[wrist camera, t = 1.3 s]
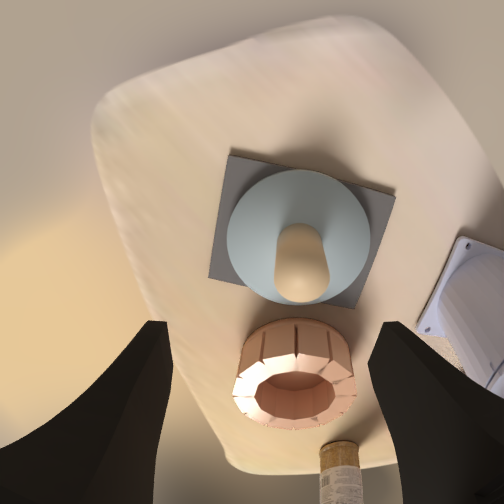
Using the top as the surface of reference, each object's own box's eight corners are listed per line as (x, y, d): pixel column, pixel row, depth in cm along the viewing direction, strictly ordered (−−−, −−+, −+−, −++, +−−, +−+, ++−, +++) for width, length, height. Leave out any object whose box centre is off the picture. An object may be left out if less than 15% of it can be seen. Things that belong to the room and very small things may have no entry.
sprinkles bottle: (339, 460, 30) (342, 558, 18) (310, 452, 29) (307, 557, 17) (367, 444, 28) (377, 549, 16) (337, 435, 27) (342, 550, 15)
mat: (393, 195, 17) (395, 197, 17) (353, 305, 21) (354, 309, 20) (229, 154, 17) (228, 155, 17) (209, 274, 21) (208, 277, 20)
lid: (385, 190, 17) (415, 216, 12) (342, 309, 20) (352, 358, 16) (243, 154, 17) (227, 169, 13) (219, 283, 20) (202, 328, 16)
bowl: (366, 329, 21) (376, 365, 18) (327, 400, 25) (329, 434, 22) (252, 306, 21) (245, 342, 18) (233, 384, 25) (226, 418, 22)
